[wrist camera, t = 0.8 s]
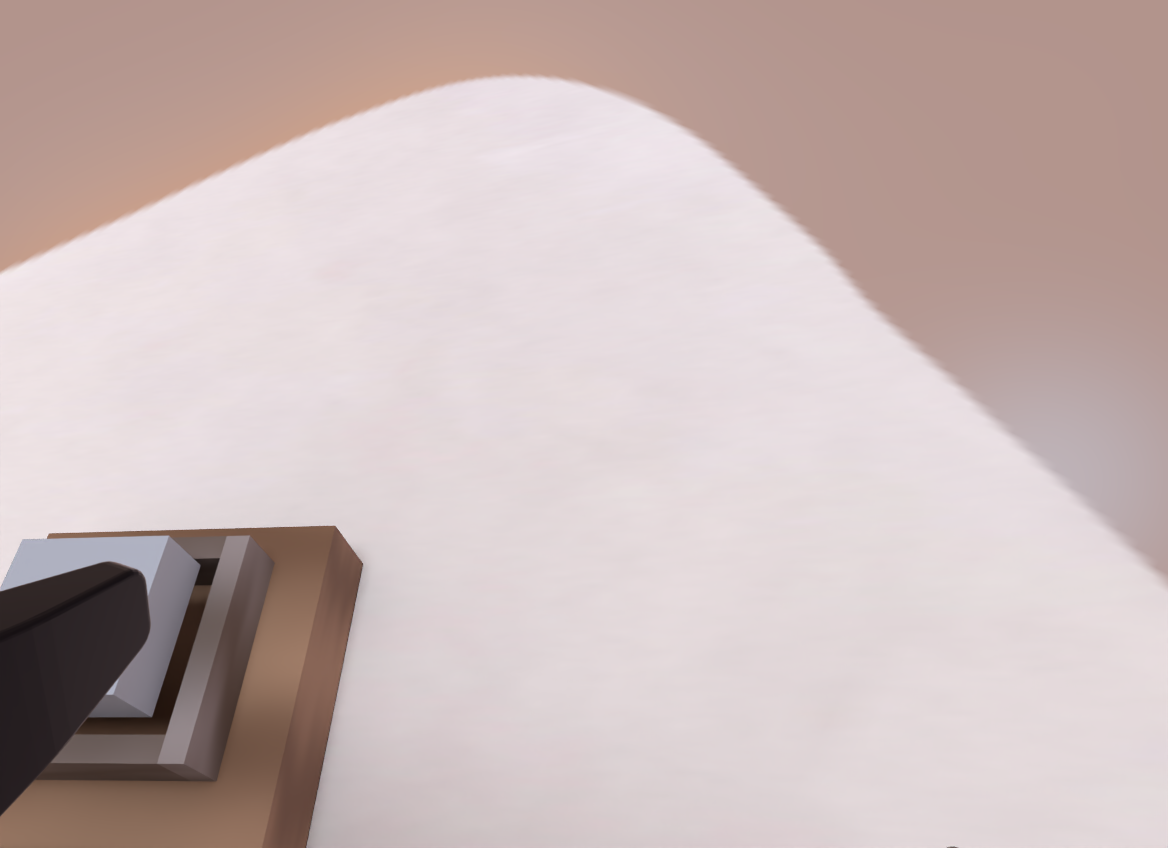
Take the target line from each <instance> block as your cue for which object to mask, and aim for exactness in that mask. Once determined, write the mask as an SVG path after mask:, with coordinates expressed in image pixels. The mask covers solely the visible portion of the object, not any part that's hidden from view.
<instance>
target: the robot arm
mask: <svg viewBox="0 0 1168 848" xmlns="http://www.w3.org/2000/svg"><path fill="white" fill-rule="evenodd" d="M150 629H151V619H150V610H149V602H148V593H147V584H146V579H145V576H144V575H143V573H142V572H141V571H139V570H138V569H135V568H132V567H129V566H126V565H123V564H120V563H117V562H113V561H105V562H101V563H97V564H94V565H90V566H87V567H83V568H80V569H76V570H73V571H69V572H66V573H62V574H59V575H55V576H52V577H48V578H45V579H41V580H38V581H34V582H31V583H27V584H24V585H20V586H17V587H13V588H10V589H6V590H3V591H0V816H1V815H2V814H3V813H4V812H5V811H6V810H7V809H8V808H9V807H10V806H11V805H12V804H13V803H14V802H15V801H16V799H17V798H18V797H19V796H20V795H21V794H22V793H23V792H24V791H25V790H26V789H27V788H28V787H29V786H30V785H31V784H32V782H33V781H34V780H35V779H36V778H37V777H38V776H39V775H40V774H41V773H42V772H43V771H44V770H45V768H46V767H47V766H48V765H49V764H50V763H51V762H52V761H53V760H54V758H55V757H56V756H57V755H58V754H59V753H60V751H61V750H62V749H63V748H64V747H65V745H66V744H67V743H68V742H69V741H70V739H71V738H72V737H73V736H74V734H75V733H76V732H77V731H78V729H79V728H80V727H81V725H82V724H83V723H84V722H85V720H86V719H87V718H88V717H89V715H90V714H91V713H92V711H93V710H94V709H95V708H96V706H97V705H98V704H99V702H100V701H101V700H102V699H103V697H104V696H105V695H106V694H107V692H108V691H109V690H110V688H111V687H112V686H113V685H114V683H115V682H116V681H117V680H118V678H119V677H120V676H121V674H122V673H123V672H124V671H125V669H126V668H127V667H128V666H129V664H130V663H131V662H132V660H133V659H134V658H135V657H136V655H137V654H138V653H139V652H140V650H141V649H142V648H143V646H144V644H145V643H146V641H147V639H148V636H149V633H150ZM947 848H957V847H947Z"/></svg>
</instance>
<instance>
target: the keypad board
mask: <svg viewBox="0 0 1168 848" xmlns="http://www.w3.org/2000/svg"><path fill="white" fill-rule="evenodd" d="M135 536H170V537H171V538H172V539H173V540H174V541H175V542H176V543H177V544H178V545H180V546H181V547H182V548H183V549H184V550H185V551H186V552H187V553H188V554H189V555H190V556H191V557H192V558H193V559H194V560H195V561H197V562H198V563H199V564H200V565H201V566H200V569H199V572H198V575H197V578H196V581H195V584H194V588H193V591H192V594H191V597H190V600H189V603H188V606H187V609H186V613H185V616H184V619H183V622H182V625H181V628H180V631H179V634H178V638H177V641H176V644H175V647H174V650H173V653H172V656H171V659H170V663H169V666H168V669H167V672H166V675H165V678H164V681H163V684H162V688H161V691H160V694H159V697H158V700H157V703H156V706H155V709H154V713H153V716H152V717H88V718H87V719H86V720H85V722H84V723H83V724H82V725H81V727H80V728H79V729H78V731H77V732H76V733H75V734H74V736H73V737H72V738H71V739H70V741H69V742H68V743H67V744H66V745H65V747H64V748H63V749H62V750H61V751H60V753H59V754H58V755H57V756H56V757H55V758H54V760H53V761H52V762H51V763H50V764H49V765H48V766H47V767H46V768H45V770H44V771H43V772H42V773H41V774H40V775H39V776H38V777H37V778H36V779H35V780H34V781H33V782H32V784H31V785H30V786H29V787H28V788H27V789H26V790H25V791H24V792H23V793H22V794H21V795H20V796H19V797H18V798H17V799H16V801H15V802H14V803H13V804H12V805H11V806H10V807H9V808H8V809H7V810H6V811H5V812H4V813H3V814H2V815H1V816H0V848H306V843H307V838H308V833H309V828H310V824H311V819H312V814H313V809H314V804H315V799H316V794H317V789H318V784H319V779H320V774H321V769H322V764H323V759H324V754H325V749H326V744H327V739H328V734H329V729H330V724H331V719H332V714H333V709H334V704H335V699H336V694H337V689H338V684H339V680H340V675H341V670H342V665H343V660H344V655H345V650H346V645H347V640H348V635H349V630H350V625H351V620H352V615H353V610H354V605H355V600H356V595H357V590H358V585H359V580H360V575H361V570H362V565H363V563H362V562H361V561H360V559H359V558H358V556H357V555H356V554H355V552H354V551H353V550H352V548H351V547H350V545H349V544H348V543H347V541H346V540H345V539H344V537H343V536H342V534H341V533H340V532H339V530H338V529H337V527H336V526H309V527H272V528H235V529H199V530H162V531H125V532H89V533H52V534H49V535H48V537H47V539H60V538H98V537H135Z"/></svg>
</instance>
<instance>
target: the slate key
mask: <svg viewBox="0 0 1168 848" xmlns="http://www.w3.org/2000/svg"><path fill="white" fill-rule="evenodd" d="M105 561H113V562H117V563H120V564H123V565H126V566H129V567H132V568H135V569H138V570H139V571H141V572H142V573H143V575H144V576H145V579H146V584H147V593H148V602H149V610H150V619H151V629H150V633H149V636H148V639H147V641H146V643H145V644H144V646H143V648H142V649H141V650H140V652H139V653H138V654H137V655H136V657H135V658H134V659H133V660H132V662H131V663H130V664H129V666H128V667H127V668H126V669H125V671H124V672H123V673H122V674H121V676H120V677H119V678H118V680H117V681H116V682H115V683H114V685H113V686H112V687H111V688H110V690H109V691H108V692H107V694H106V695H105V696H104V697H103V699H102V700H101V701H100V702H99V704H98V705H97V706H96V708H95V709H94V710H93V711H92V713H91V714H90V715H89V717H152V716H153V713H154V709H155V706H156V703H157V700H158V697H159V694H160V691H161V688H162V684H163V681H164V678H165V675H166V672H167V669H168V666H169V663H170V659H171V656H172V653H173V650H174V647H175V644H176V641H177V638H178V634H179V631H180V628H181V625H182V622H183V619H184V616H185V613H186V609H187V606H188V603H189V600H190V597H191V594H192V591H193V588H194V584H195V581H196V578H197V575H198V572H199V569H200V566H201V565H200V564H199V563H198V562H197V561H195V560H194V559H193V558H192V557H191V556H190V555H189V554H188V553H187V552H186V551H185V550H184V549H183V548H182V547H181V546H180V545H178V544H177V543H176V542H175V541H174V540H173V539H172V538H171V537H170V536H135V537H98V538H60V539H23V540H22V542H21V544H20V546H19V548H18V551H17V553H16V555H15V557H14V559H13V562H12V564H11V566H10V568H9V570H8V572H7V575H6V577H5V579H4V581H3V583H2V586H1V588H0V591H3V590H6V589H10V588H13V587H17V586H20V585H24V584H27V583H31V582H34V581H38V580H41V579H45V578H48V577H52V576H55V575H59V574H62V573H66V572H69V571H73V570H76V569H80V568H83V567H87V566H90V565H94V564H97V563H101V562H105Z"/></svg>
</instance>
